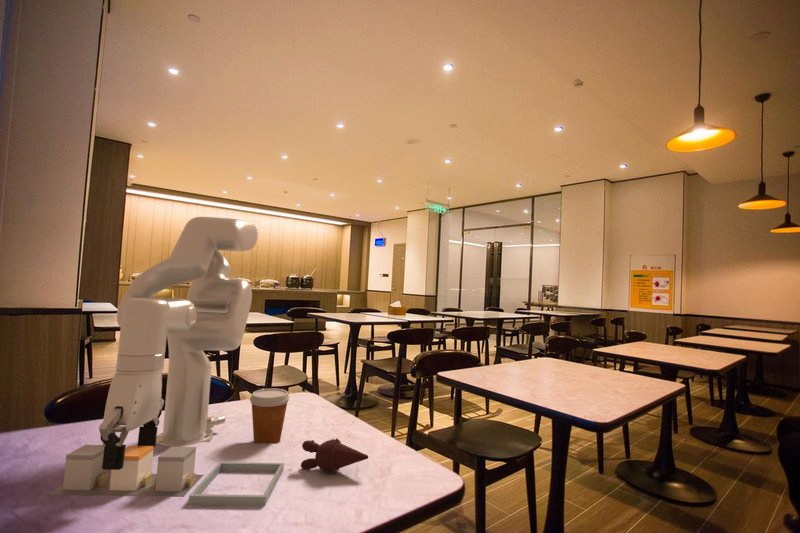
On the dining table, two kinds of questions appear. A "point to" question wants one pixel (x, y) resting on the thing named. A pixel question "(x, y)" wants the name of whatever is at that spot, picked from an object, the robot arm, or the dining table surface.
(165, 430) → the robot arm
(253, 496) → the tray
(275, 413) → the disposable coffee cup
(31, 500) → the dining table surface
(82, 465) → the fuse
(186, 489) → the fuse panel
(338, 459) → the icecream
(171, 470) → the block
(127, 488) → the block
